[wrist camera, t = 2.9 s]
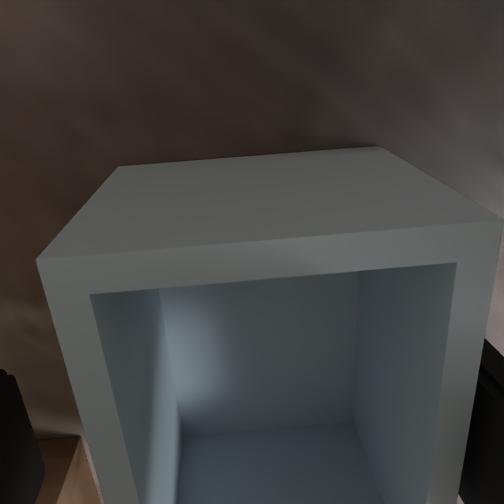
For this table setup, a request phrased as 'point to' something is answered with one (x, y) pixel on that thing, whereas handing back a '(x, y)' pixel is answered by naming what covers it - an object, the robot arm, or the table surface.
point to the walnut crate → (66, 473)
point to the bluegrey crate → (275, 328)
